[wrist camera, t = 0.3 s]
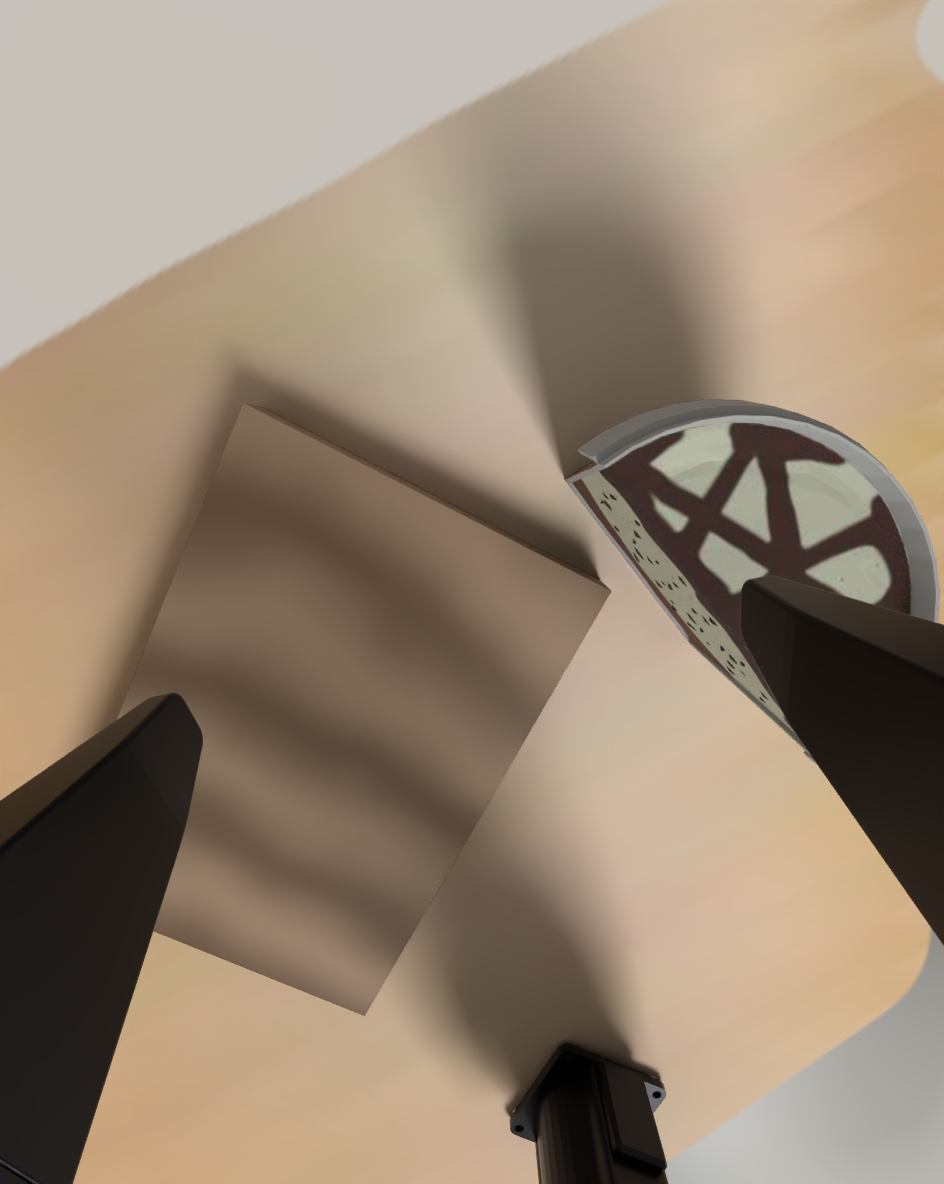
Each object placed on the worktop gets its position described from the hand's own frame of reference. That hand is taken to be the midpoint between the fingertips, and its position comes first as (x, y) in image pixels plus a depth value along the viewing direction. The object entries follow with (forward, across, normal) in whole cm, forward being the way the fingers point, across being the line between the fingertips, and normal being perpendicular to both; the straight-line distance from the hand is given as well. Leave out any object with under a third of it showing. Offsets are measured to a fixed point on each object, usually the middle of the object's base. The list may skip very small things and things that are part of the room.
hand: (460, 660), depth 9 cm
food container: (+15, -9, +6) cm, 19 cm away
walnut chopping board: (+13, +8, +12) cm, 20 cm away
